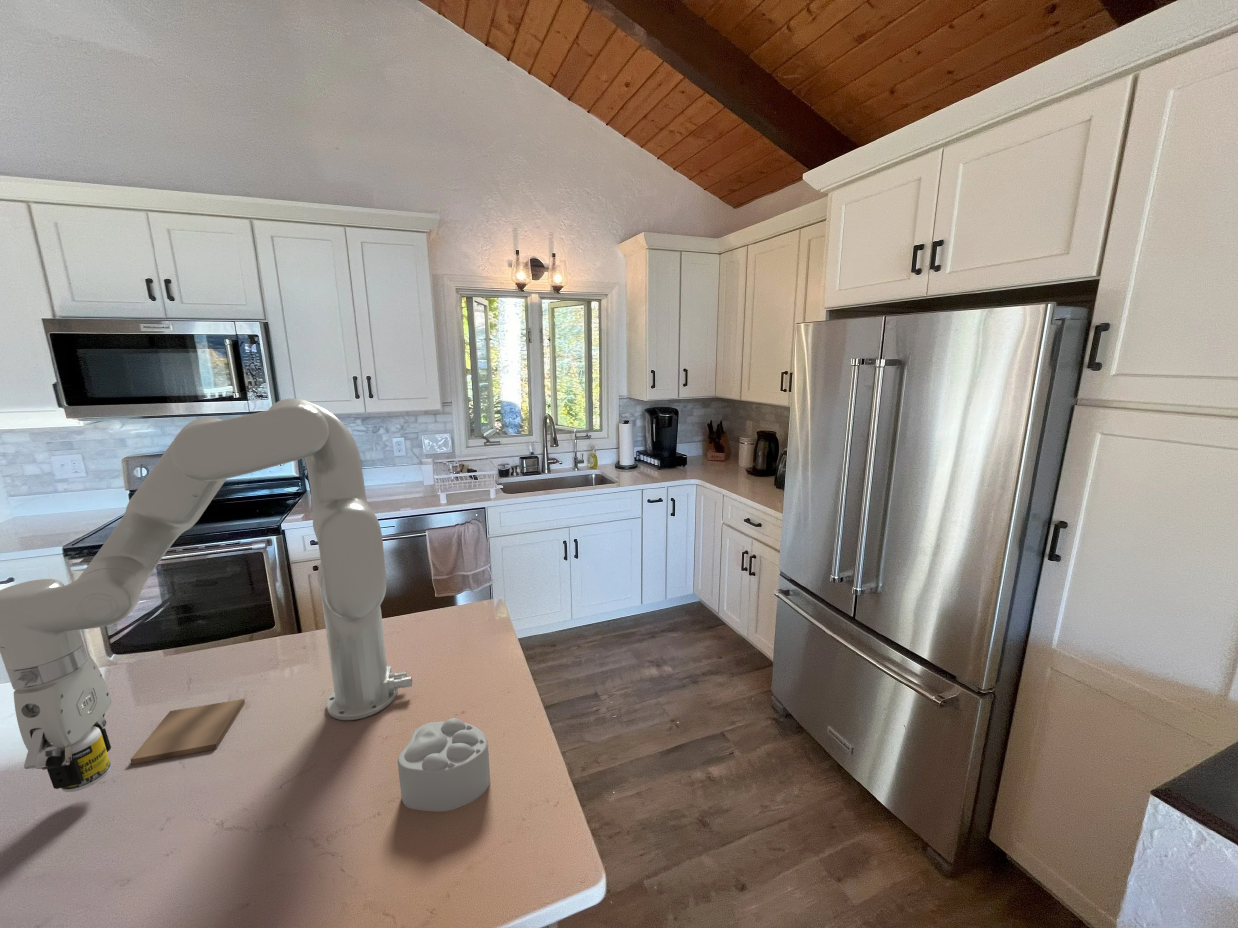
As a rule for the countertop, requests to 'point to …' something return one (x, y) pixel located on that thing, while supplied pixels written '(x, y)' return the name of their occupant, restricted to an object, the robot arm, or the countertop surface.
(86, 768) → the supplement bottle
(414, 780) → the lumpy-topped squat cylinder
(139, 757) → the walnut board
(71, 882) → the countertop surface
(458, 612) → the countertop surface
